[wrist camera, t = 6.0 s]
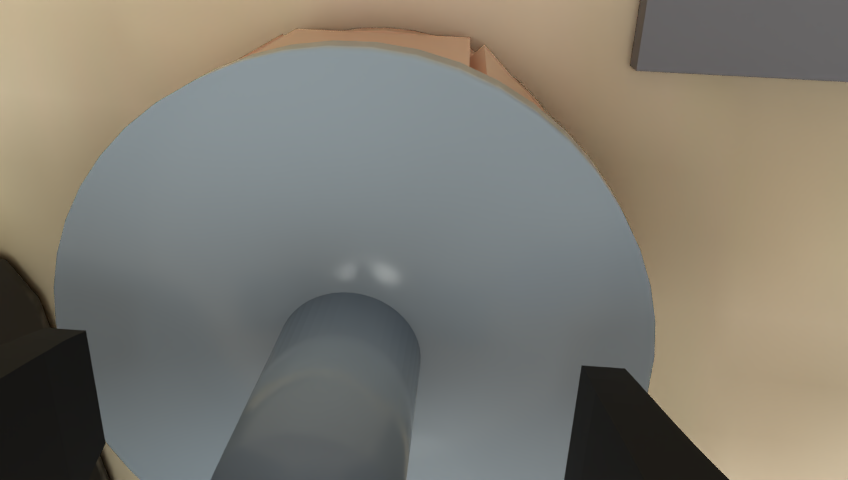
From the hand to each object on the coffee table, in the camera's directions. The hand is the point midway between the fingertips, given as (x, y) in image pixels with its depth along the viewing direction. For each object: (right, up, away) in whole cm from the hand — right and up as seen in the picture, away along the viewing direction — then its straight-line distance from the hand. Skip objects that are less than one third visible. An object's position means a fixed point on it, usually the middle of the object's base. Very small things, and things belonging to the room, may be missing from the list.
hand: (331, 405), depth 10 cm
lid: (0, +1, +2) cm, 3 cm away
